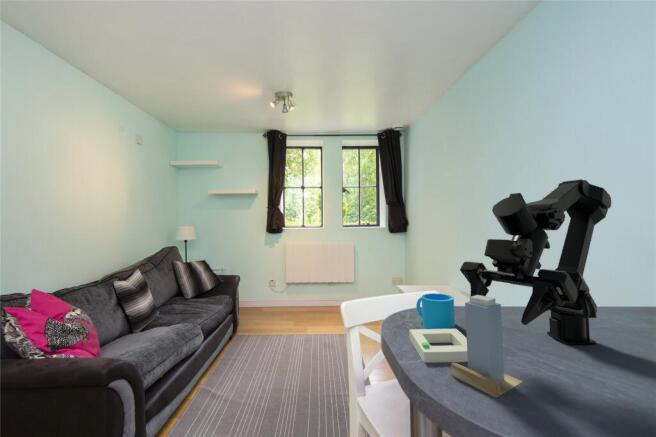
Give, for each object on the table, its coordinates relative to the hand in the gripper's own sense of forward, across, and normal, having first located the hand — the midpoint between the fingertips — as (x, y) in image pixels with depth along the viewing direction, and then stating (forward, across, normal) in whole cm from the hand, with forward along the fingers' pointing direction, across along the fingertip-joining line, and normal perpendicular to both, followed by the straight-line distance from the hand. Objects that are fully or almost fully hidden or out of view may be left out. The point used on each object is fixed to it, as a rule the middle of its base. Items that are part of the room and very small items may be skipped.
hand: (495, 316), depth 52 cm
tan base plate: (+10, 0, +5) cm, 12 cm away
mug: (-1, -24, +16) cm, 29 cm away
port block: (+8, -12, +8) cm, 16 cm away
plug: (+10, 0, +4) cm, 11 cm away
